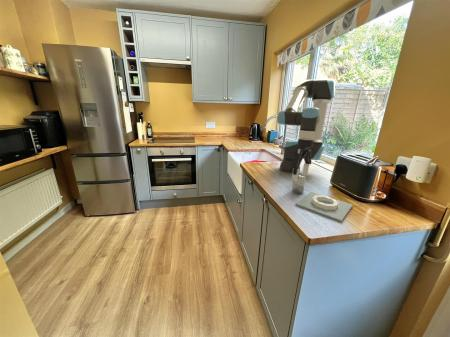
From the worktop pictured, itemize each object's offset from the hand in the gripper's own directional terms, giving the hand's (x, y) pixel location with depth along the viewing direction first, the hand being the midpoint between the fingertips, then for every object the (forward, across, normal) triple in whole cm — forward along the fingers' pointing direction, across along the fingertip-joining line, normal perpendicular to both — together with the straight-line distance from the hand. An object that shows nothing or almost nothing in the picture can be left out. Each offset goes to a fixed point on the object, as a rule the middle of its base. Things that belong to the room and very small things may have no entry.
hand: (299, 177), depth 104 cm
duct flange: (+9, +6, +16) cm, 19 cm away
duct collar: (+9, 0, 0) cm, 9 cm away
